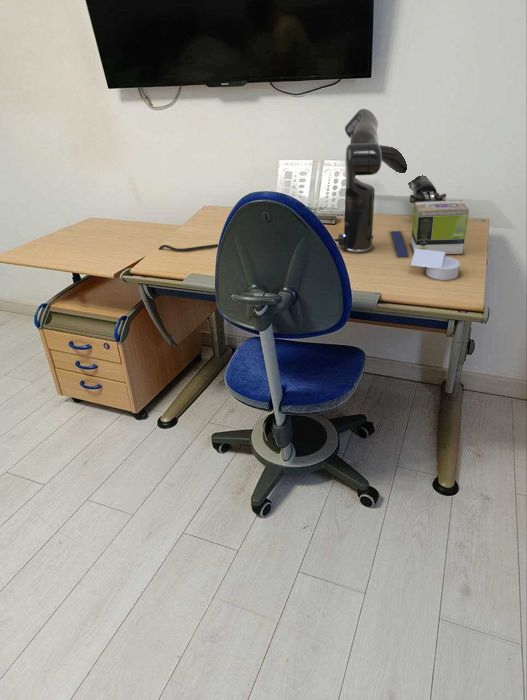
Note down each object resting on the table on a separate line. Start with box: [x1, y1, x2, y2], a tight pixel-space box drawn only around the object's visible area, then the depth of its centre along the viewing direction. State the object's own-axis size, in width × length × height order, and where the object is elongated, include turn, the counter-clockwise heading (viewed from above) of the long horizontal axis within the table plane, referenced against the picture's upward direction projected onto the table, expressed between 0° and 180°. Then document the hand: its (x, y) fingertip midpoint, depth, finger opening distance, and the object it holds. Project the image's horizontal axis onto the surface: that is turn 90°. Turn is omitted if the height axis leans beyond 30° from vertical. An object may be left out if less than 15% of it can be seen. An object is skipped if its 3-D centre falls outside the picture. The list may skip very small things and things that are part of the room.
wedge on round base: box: [410, 249, 461, 281], centre depth 149 cm, size 9×7×13 cm
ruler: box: [391, 230, 408, 258], centre depth 170 cm, size 3×22×1 cm, turn 173°
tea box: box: [410, 199, 470, 255], centre depth 161 cm, size 15×10×15 cm, turn 83°
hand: (431, 205), depth 171 cm, fingers closed
